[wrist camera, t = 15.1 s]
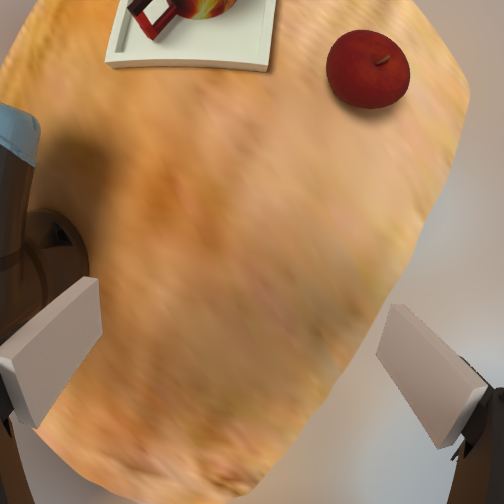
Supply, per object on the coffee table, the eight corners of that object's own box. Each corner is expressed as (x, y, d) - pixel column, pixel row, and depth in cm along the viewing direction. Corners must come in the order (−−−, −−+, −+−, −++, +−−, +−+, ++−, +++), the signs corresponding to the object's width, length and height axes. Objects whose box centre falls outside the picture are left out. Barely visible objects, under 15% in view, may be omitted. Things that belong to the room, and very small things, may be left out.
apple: (357, 130, 36) (392, 120, 27) (300, 80, 34) (320, 54, 25) (395, 84, 35) (434, 67, 25) (342, 36, 33) (370, 5, 23)
